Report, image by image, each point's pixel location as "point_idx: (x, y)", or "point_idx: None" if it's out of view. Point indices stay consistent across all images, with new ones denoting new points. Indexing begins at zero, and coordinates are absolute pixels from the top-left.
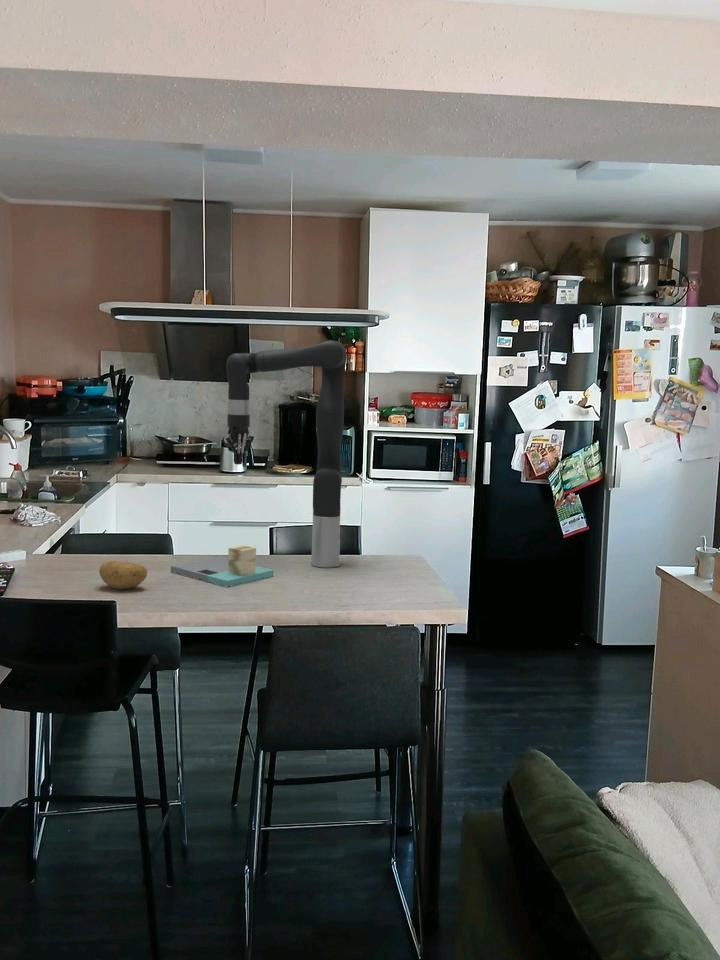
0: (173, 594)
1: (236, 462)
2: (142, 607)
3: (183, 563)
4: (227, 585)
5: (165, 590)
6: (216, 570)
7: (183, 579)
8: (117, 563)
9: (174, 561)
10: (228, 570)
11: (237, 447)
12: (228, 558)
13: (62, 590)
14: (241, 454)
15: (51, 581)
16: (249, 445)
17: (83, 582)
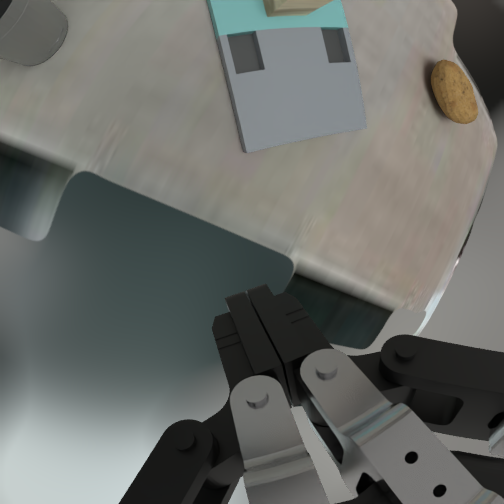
0: (405, 18)
1: (288, 297)
2: (443, 11)
3: (341, 131)
4: None
5: (407, 40)
6: (315, 43)
7: (365, 70)
8: (473, 94)
9: (314, 202)
10: (308, 13)
11: (387, 401)
12: (321, 6)
13: (474, 132)
14: (258, 363)
15: (467, 177)
16: (130, 501)
17: (454, 151)
